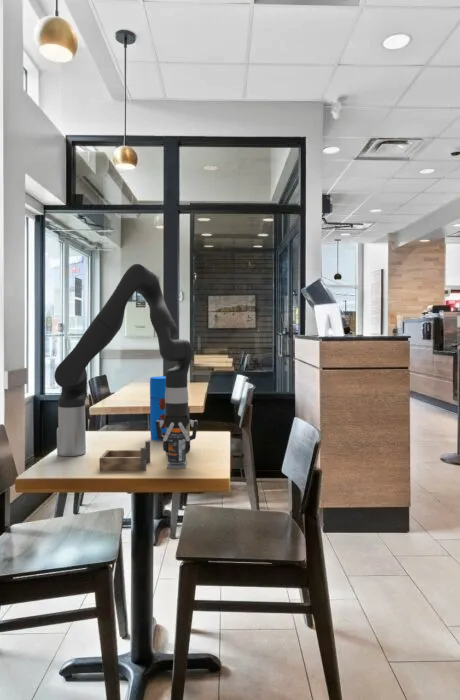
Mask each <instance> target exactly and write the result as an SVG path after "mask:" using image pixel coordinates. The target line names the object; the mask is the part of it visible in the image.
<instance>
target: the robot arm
mask: <svg viewBox="0 0 460 700" xmlns="http://www.w3.org/2000/svg"><path fill="white" fill-rule="evenodd" d="M135 293H137V294H139V295H141V296H142V297H143V298H144V300H145V301H146V304H147V305H148V308H149V319H150V323H151V325H152V327H153V329H154V331H155V334H156V335H157V341H158V350H159V354H160V356H161V358H162V359H163V360H164V361H166V362H176V363H175V366H174V367H173V368H172V367H171V368H169V369H167V370H166V372H165V376H166V390H165V419H164V420H160V421H159V420H157V421H156V422H155V424H156V431H157V438H158V439H160V440H162V441H161V442H162V445H163V446H162V447H163V448H162V449H163V451H164V452H165V454H166V453H168V440H167V438H168V436H169V434H170V432H171V430H172V428H180V429H181V431H182V433H183V435H184V436H185V438H186V454H187V453H189V452H190V450H191V441H193V440H195V439H196V437H197V430H198V423H199V421H198V420H197V419H195V420H192V419H189V417H188V407H189V391H188V374H189V370H190V365H191V361H192V359H193V358H192V357H193V346H192V344H191V342H190V341H189V340H187V339H184V338H183V339H174V338H176V336H177V335H178V334H179V333H178V331H179V329H178V327H177V325H176V323H175V320H174V318H173V317H172V314H171V312H170V311H169V308H168V306H167V303H166V302H165V298H164V294H163V292H162V288H161V284H160V281H159V278H158V276H157V274H156V273H155V272H154V271H152V270H151V269H149V268H148V267H147V266H145V265H144V264H142V263H138V262H137V263H134V264H132V265H131V266H130V267H129V268H127V270H125V272H124V274H122V277H121V278H120V281H119V282H118V283H117V286H116V287H115V289H114V291H113V293H112V294H111V296H110V297H109V298H108V300H107V301H106V302H105V304H104V306H103V307H102V308H101V310H100V311H99V312H98V313H97V315H96V316H95V317H94V319H93V320H92V321H91V323H90V324H89V325H88V327H87V329H86V330H84V333H83V334H82V336H81V337H80V339H79V340H78V342H77V343H76V345H75V346H74V348H73V349H72V350H71V351H70V352H69V353H68V355H66V357H65V358H64V359H63V360H61V362H60V363H59V364H58V365H57V367H55V370H54V376H53V377H54V381H55V382H56V384H57V385H58V387H61V393H60V396H59V398H58V399H57V400H58V401H57V403H58V404H57V407H58V408H57V409H58V410H57V411H58V414H57V415H58V416H57V417H58V419H57V420H58V427H57V428H56V455H57V456H61V457H78V456H81V455H82V456H83V455H84V454H86V452H87V450H86V449H87V446H86V443H87V442H86V441H87V440H86V439H87V437H86V399H87V395H88V393H87V392H88V373H87V369H86V368H87V367H88V365H89V364H90V362H91V361H92V360H93V359H94V358H95V357H96V356H97V355H98V354H100V352H102V350H103V349H105V348H106V347H107V346H108V345H109V344H110V343H111V342H112V341H113V339H114V338H115V336H116V335H117V334H118V332H120V330H121V328H122V326H123V322H124V319H125V318H124V316H125V313H126V307H127V304H128V303H129V300H130V299H131V297H132V296H133V295H134V294H135ZM163 423H164V424H165V425H166V427H167V428H168V430H167V432H166V434H165V436H163V435H162V433H161V427H162V425H163ZM189 423H190V426H191V428H192V435H191V434H190V436H189V434H188V431H187V429H186V427H187V426H188V424H189Z"/></svg>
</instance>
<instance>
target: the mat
mask: <svg viewBox="0 0 460 700" xmlns="http://www.w3.org/2000/svg"><path fill="white" fill-rule="evenodd" d="M187 465H188V461H187V460H186V461H185V462H184V463H179V464H173V463H169V462H167V465H166V469H187Z"/></svg>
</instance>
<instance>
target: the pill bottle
mask: <svg viewBox="0 0 460 700" xmlns="http://www.w3.org/2000/svg"><path fill="white" fill-rule="evenodd" d="M185 461H187V453H186V438H185V436H184V435H183V433H182V431H181V429H180V428H172V430H171V433H170V434H169V436H168V455H167V463H173V464H179V463H184V462H185Z"/></svg>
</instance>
